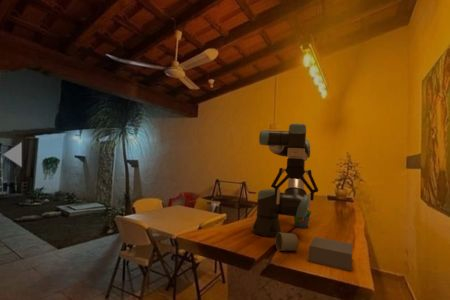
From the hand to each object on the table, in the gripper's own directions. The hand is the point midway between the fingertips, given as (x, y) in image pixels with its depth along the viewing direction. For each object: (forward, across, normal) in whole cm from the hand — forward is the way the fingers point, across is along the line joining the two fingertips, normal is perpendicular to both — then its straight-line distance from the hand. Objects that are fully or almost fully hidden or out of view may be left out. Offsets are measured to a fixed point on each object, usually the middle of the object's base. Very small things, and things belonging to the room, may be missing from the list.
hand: (293, 205), depth 112 cm
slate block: (+19, +16, -3) cm, 25 cm away
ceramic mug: (+19, -2, -1) cm, 20 cm away
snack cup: (+19, 0, +46) cm, 50 cm away
